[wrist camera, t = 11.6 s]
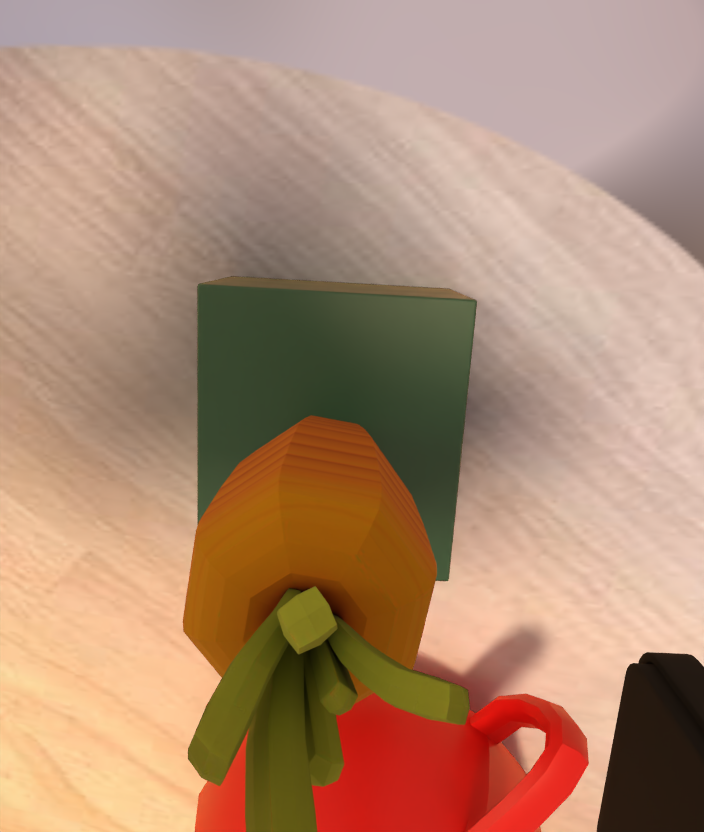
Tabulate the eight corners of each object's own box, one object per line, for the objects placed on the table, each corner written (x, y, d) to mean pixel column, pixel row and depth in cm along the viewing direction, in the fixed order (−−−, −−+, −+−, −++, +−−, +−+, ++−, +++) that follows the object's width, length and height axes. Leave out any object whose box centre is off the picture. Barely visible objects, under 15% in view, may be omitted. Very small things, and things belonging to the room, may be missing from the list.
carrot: (305, 340, 22) (209, 532, 7) (430, 422, 22) (578, 750, 8) (227, 461, 23) (1, 849, 8) (348, 536, 23) (343, 1017, 9)
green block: (230, 275, 27) (196, 283, 21) (450, 288, 27) (477, 299, 21) (227, 505, 29) (197, 569, 24) (430, 516, 30) (448, 582, 24)
